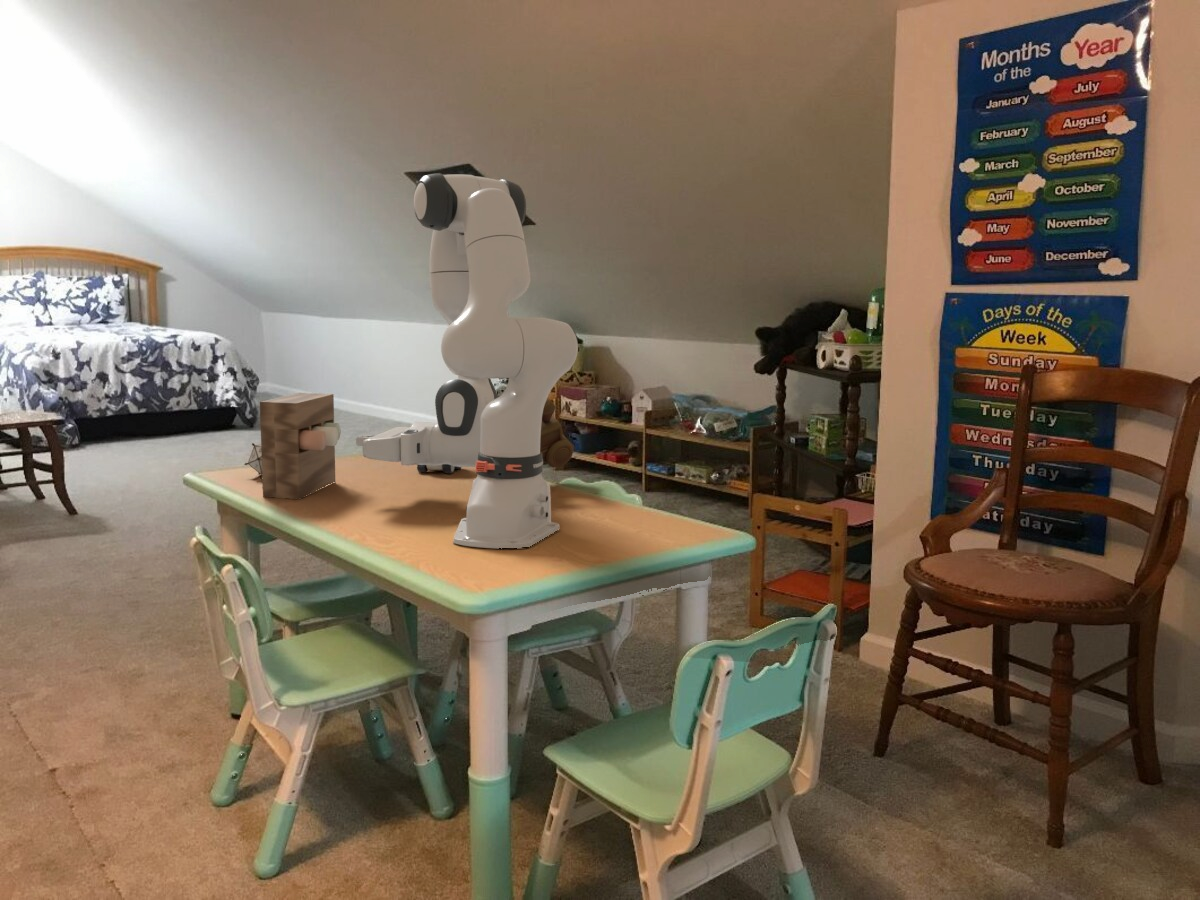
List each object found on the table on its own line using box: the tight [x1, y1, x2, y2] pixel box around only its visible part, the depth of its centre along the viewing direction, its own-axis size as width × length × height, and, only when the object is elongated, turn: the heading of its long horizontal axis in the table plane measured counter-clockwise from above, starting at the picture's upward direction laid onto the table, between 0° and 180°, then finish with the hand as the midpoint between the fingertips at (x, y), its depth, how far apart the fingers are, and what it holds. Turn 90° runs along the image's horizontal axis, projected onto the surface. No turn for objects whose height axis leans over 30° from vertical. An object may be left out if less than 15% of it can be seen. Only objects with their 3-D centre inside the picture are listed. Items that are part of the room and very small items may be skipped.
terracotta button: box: [298, 430, 326, 450], centre depth 204 cm, size 6×4×4 cm, turn 81°
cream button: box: [311, 426, 339, 447], centre depth 210 cm, size 6×4×4 cm, turn 81°
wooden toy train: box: [540, 397, 575, 468], centre depth 220 cm, size 20×11×17 cm
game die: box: [243, 442, 262, 479], centre depth 226 cm, size 9×8×10 cm
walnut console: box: [259, 392, 336, 500], centre depth 211 cm, size 8×18×20 cm, turn 171°
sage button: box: [323, 422, 342, 441], centre depth 216 cm, size 6×4×4 cm, turn 81°
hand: (358, 440), depth 204 cm, fingers closed
